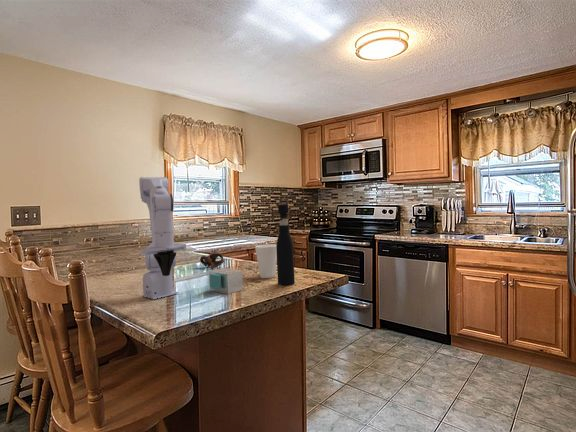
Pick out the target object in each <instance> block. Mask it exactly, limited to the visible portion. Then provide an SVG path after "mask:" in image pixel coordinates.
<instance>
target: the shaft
mask: <svg viewBox="0 0 576 432" xmlns="http://www.w3.org/2000/svg"><path fill="white" fill-rule="evenodd" d="M221 286H222V276H221V275H217V274H210V280H209V289H210V288H212V289H217V290H221V289H222V288H221Z"/></svg>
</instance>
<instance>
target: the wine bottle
mask: <svg viewBox="0 0 576 432" xmlns="http://www.w3.org/2000/svg"><path fill="white" fill-rule="evenodd" d="M277 211H278V212H277V214H279V215H280V218H279V225H278V234H277V235H278V236H277V240H276V244H275V245H276V250H277V262H276V273H277V284H278V286H283V287H284V286H285V287H286V286H292V285H295V261H294V259H295V258H294V244H293V239H292V236H291V234H290V225H289V221H288V220H287V219H288V214H289V204H278V205H277Z"/></svg>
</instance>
